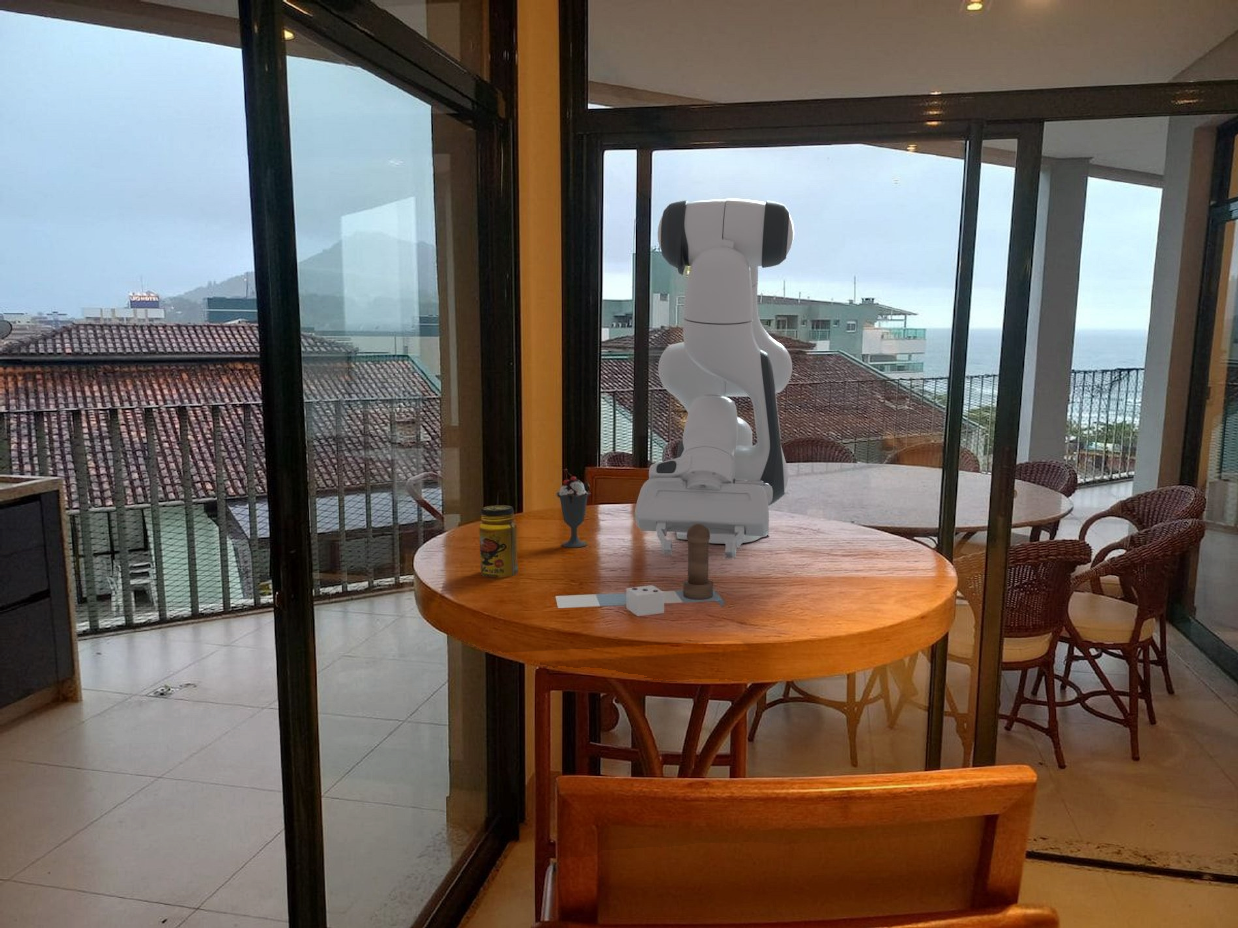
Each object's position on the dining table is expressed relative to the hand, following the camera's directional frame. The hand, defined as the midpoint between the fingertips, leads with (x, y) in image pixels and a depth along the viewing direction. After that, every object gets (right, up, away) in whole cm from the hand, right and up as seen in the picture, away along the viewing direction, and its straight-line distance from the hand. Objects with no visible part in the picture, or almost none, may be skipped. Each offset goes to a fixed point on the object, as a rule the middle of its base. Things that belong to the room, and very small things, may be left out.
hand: (697, 554), depth 126 cm
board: (-9, -7, 0) cm, 11 cm away
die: (-8, -8, -6) cm, 13 cm away
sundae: (-20, -3, +40) cm, 45 cm away
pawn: (0, -6, +1) cm, 6 cm away
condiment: (-31, -6, +16) cm, 36 cm away
